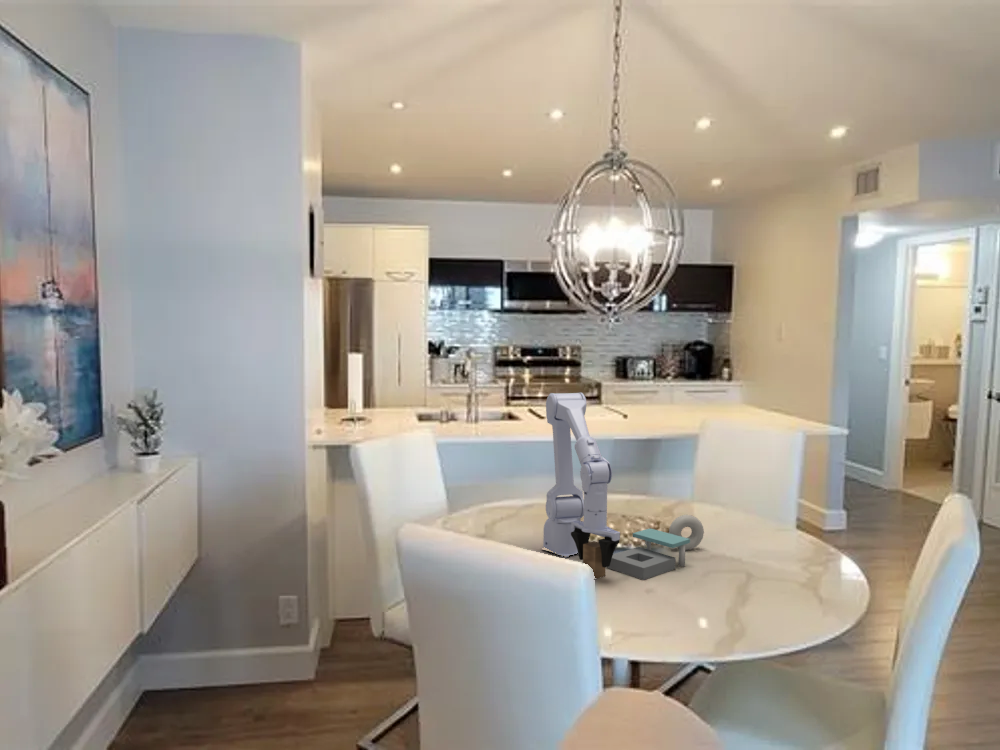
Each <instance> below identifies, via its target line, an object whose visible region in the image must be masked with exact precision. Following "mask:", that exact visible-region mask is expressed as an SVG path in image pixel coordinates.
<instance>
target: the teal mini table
mask: <svg viewBox="0 0 1000 750" xmlns="http://www.w3.org/2000/svg"><path fill="white" fill-rule="evenodd" d="M632 538H636V539H639V540H642V541H645V542H644V545H645V544H646V545H647V548H646V549H648V550H651V551H652V543H653V544H656V545H661V546H664V547H666V548H667V547H668V548H671V549H674V548H677V547H678V546H679V548H678V566H679V567H680V566H683V567H682V568H684V567H686V550H685V544H688V543H690V539H688V538H687V537H684V536H682V537H681V536H677V535H673V534H670V533H669V532H665V531H662V530H659V529H654V528H650V527H649V528H646V529H643V530H638V531H636V532H632Z"/></svg>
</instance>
